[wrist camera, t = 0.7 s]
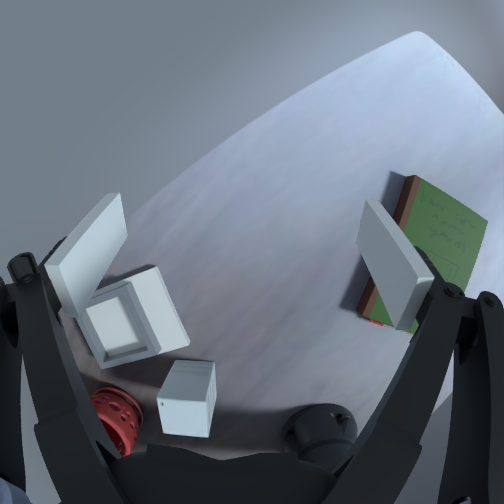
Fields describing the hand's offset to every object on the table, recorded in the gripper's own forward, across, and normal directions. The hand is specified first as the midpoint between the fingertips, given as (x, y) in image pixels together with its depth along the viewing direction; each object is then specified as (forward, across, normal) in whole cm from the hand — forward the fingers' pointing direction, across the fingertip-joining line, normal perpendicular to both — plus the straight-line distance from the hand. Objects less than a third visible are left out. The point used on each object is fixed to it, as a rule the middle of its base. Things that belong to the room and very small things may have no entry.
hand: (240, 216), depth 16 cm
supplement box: (+16, +8, +40) cm, 44 cm away
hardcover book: (+25, -32, +20) cm, 45 cm away
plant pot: (+12, +25, +49) cm, 56 cm away
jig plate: (+20, +20, +31) cm, 42 cm away
